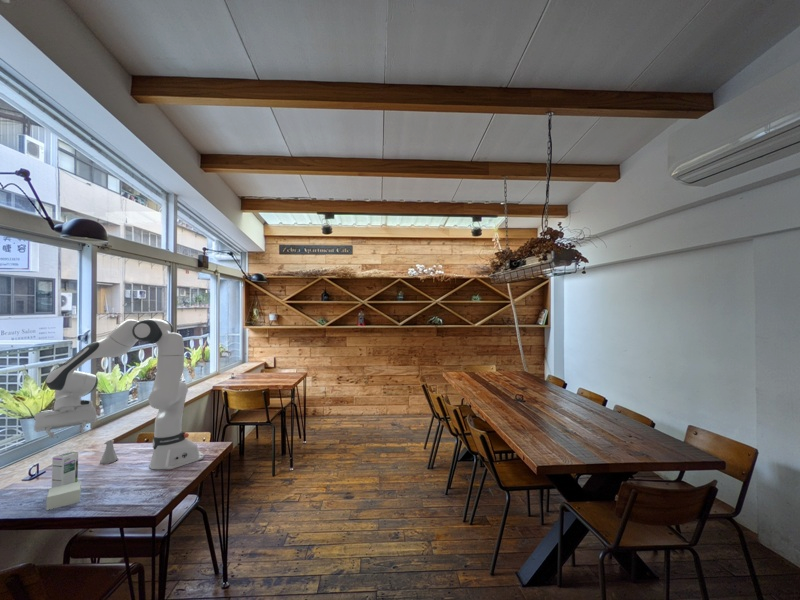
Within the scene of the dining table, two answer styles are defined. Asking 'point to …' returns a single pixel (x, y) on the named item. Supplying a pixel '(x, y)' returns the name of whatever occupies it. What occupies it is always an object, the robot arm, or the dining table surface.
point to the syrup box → (64, 469)
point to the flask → (109, 453)
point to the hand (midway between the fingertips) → (66, 434)
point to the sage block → (63, 495)
